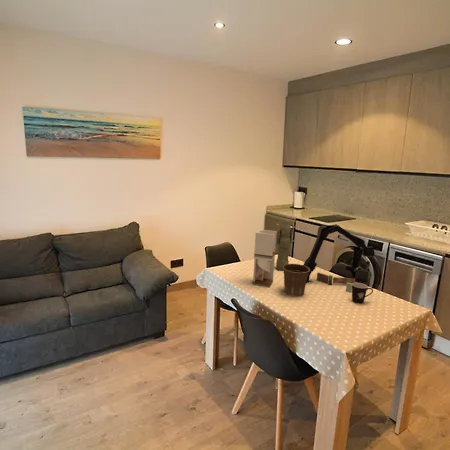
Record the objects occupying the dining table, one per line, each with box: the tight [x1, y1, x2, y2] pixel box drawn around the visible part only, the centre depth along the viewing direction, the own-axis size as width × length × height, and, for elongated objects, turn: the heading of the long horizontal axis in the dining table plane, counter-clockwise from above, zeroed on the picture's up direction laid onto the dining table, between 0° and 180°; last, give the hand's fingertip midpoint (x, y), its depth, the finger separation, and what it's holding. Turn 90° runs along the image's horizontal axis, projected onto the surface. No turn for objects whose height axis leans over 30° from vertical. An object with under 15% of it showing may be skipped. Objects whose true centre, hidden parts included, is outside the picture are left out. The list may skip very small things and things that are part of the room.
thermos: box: [275, 222, 293, 272], centre depth 245 cm, size 9×12×35 cm
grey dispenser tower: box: [252, 229, 278, 288], centre depth 215 cm, size 11×11×35 cm
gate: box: [332, 276, 356, 285], centre depth 221 cm, size 14×2×4 cm, turn 88°
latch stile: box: [345, 283, 352, 293], centre depth 210 cm, size 2×3×6 cm, turn 43°
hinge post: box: [316, 272, 334, 286], centre depth 224 cm, size 2×11×6 cm, turn 43°
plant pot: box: [283, 263, 310, 297], centre depth 204 cm, size 16×16×16 cm
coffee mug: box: [351, 282, 374, 305], centre depth 195 cm, size 12×9×10 cm
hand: (354, 278), depth 225 cm, fingers closed
